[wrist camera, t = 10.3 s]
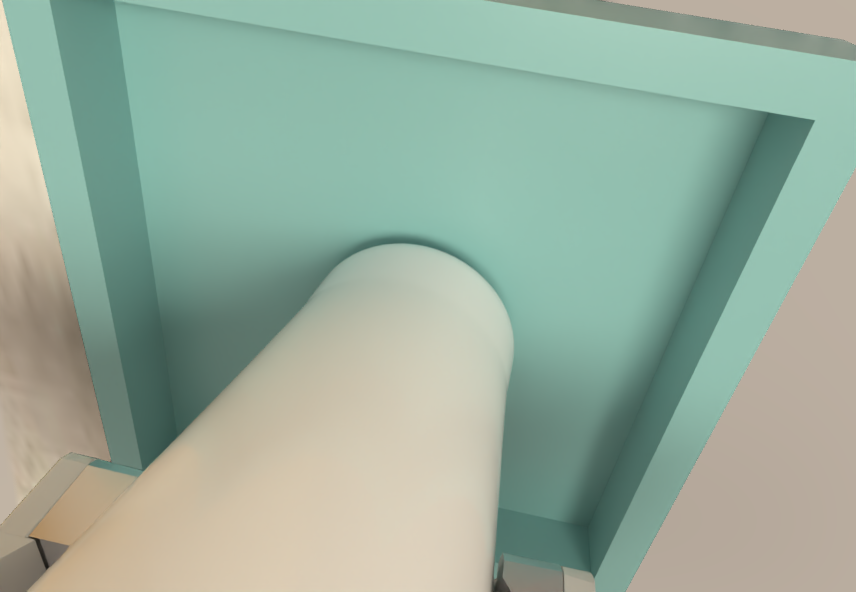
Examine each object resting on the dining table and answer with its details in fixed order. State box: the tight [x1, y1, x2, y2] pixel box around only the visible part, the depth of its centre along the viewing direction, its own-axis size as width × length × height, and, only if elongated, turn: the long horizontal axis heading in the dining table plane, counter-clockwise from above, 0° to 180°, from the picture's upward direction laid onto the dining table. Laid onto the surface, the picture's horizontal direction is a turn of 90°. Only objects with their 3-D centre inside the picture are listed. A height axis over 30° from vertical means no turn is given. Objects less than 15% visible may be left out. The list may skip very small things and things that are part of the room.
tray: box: [2, 0, 856, 592], centre depth 16 cm, size 16×16×3 cm
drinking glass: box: [26, 243, 514, 592], centre depth 10 cm, size 7×7×15 cm
